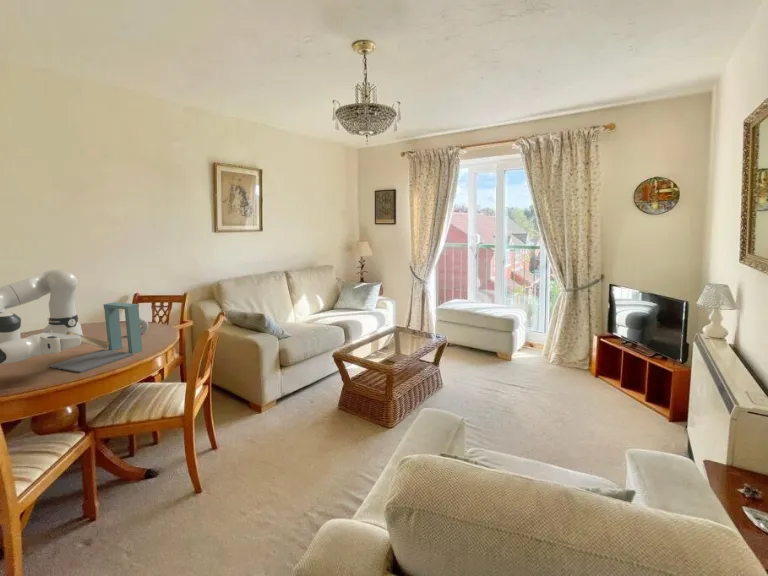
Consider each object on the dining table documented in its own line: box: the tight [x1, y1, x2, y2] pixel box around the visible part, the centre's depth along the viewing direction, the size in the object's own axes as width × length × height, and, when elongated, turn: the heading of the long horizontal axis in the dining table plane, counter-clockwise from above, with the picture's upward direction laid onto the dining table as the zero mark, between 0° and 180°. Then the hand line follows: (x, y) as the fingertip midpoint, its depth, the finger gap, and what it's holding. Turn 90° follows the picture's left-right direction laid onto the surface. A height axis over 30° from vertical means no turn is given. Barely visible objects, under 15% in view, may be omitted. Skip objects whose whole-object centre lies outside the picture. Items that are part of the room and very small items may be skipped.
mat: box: [48, 348, 134, 374], centre depth 185 cm, size 20×25×1 cm
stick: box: [66, 332, 109, 350], centre depth 182 cm, size 2×19×3 cm, turn 162°
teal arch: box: [102, 301, 143, 354], centre depth 198 cm, size 16×6×24 cm, turn 72°
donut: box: [139, 317, 149, 335], centre depth 229 cm, size 10×4×10 cm, turn 129°
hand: (76, 335), depth 177 cm, fingers closed on stick, 2 cm apart
